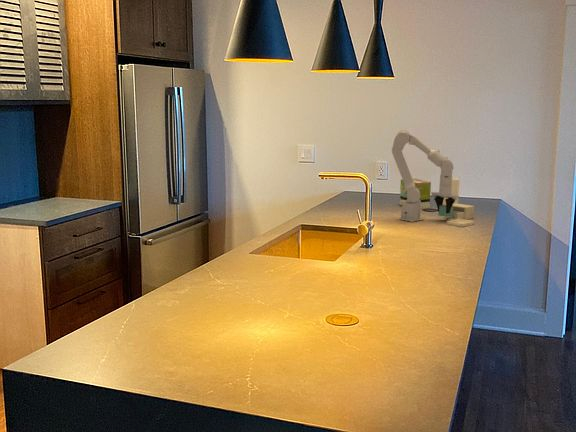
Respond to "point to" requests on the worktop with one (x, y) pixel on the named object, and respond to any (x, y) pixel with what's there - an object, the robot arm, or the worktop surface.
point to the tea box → (424, 192)
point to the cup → (453, 189)
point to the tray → (460, 222)
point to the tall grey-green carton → (443, 211)
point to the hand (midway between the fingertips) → (443, 212)
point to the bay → (462, 211)
